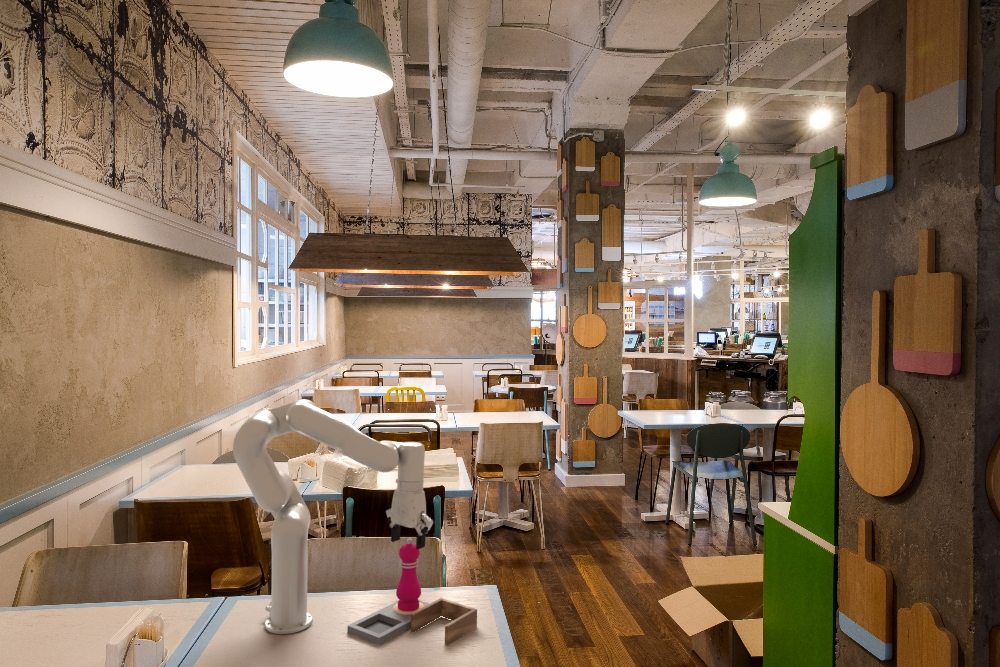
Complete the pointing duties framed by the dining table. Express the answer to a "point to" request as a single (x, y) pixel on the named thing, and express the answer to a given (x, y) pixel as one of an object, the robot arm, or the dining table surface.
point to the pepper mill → (408, 578)
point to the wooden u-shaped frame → (457, 612)
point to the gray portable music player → (383, 624)
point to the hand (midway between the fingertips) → (407, 544)
